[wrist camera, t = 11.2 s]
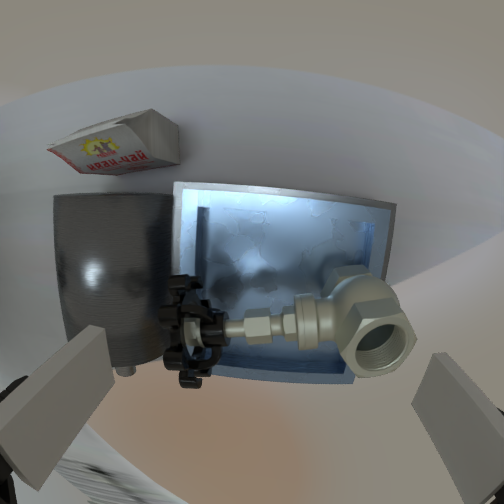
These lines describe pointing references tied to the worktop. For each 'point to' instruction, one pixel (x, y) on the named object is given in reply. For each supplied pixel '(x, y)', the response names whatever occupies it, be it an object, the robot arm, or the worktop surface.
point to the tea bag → (121, 145)
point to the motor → (212, 266)
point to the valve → (292, 325)
